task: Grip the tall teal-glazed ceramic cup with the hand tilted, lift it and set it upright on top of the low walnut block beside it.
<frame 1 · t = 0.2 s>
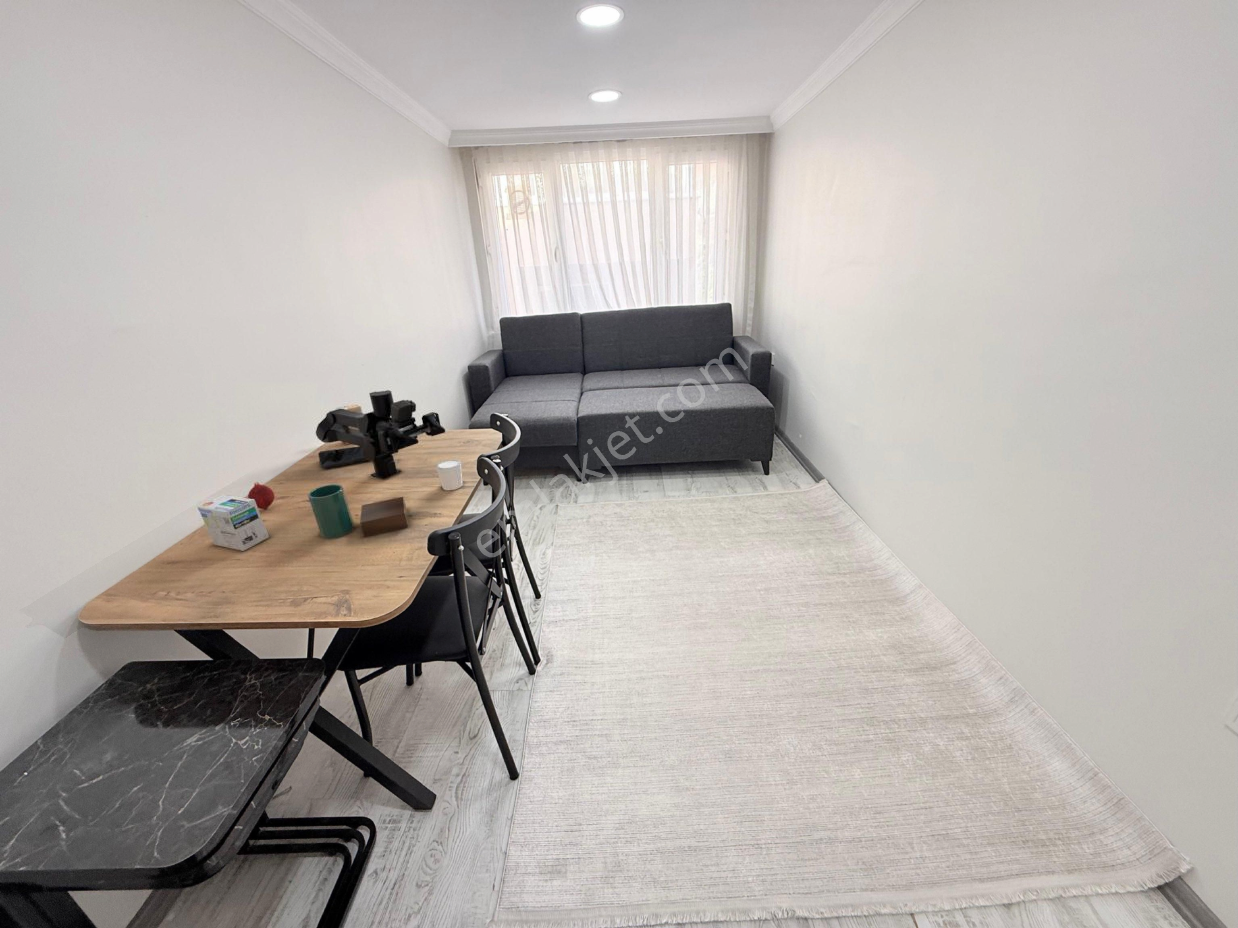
hand: (431, 435, 135), 17 cm above the table, tool horizontal, fingers open, 9 cm apart
cup: (337, 530, 123), on the table
light bulb box: (242, 542, 120), on the table
supplement box: (357, 441, 184), on the table
white cylinder: (452, 486, 144), on the table
dark slate chunk: (358, 457, 168), on the table
pomegranate: (266, 509, 136), on the table
block: (386, 522, 125), on the table
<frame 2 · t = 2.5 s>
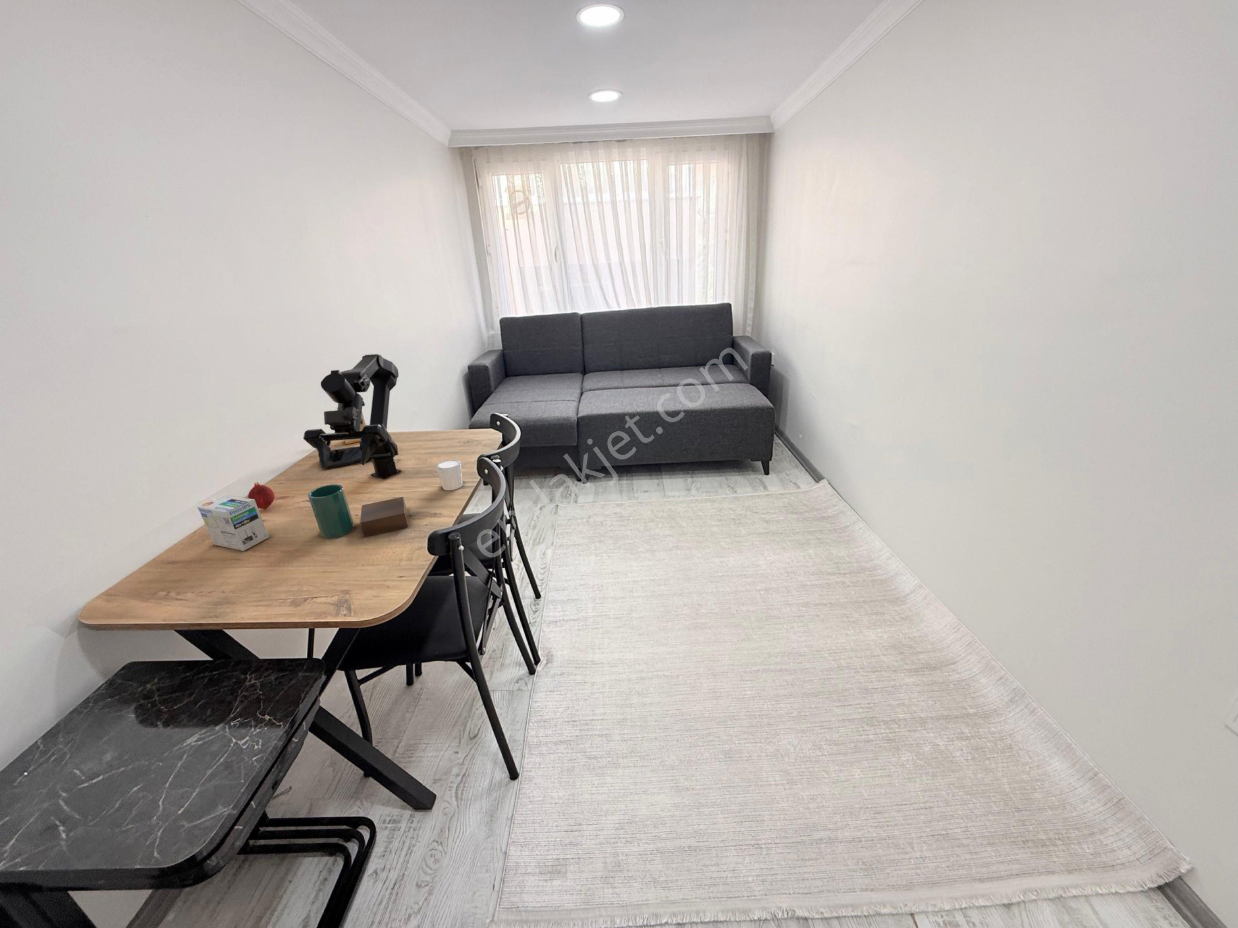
hand: (343, 465, 125), 14 cm above the table, tool tilted 50°, fingers open, 9 cm apart
nothing on the table moved.
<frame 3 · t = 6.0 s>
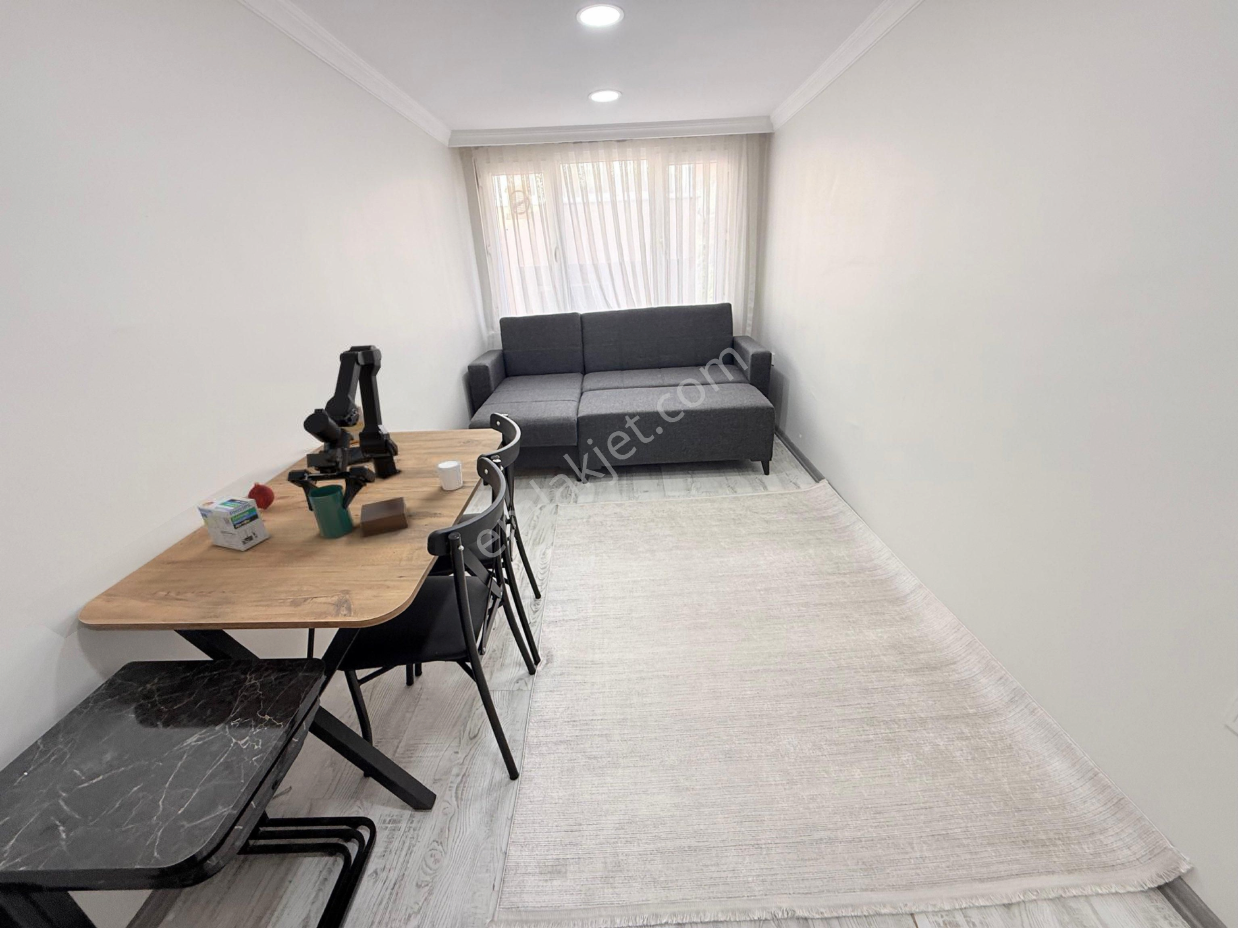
hand: (327, 509, 119), 7 cm above the table, tool tilted 45°, fingers closed on cup, 7 cm apart
cup: (337, 530, 123), on the table, touching gripper
everything else where it was.
when the fingers open (11 cm above the table, at t = 11.7 s): cup stays where it is, resting on block.
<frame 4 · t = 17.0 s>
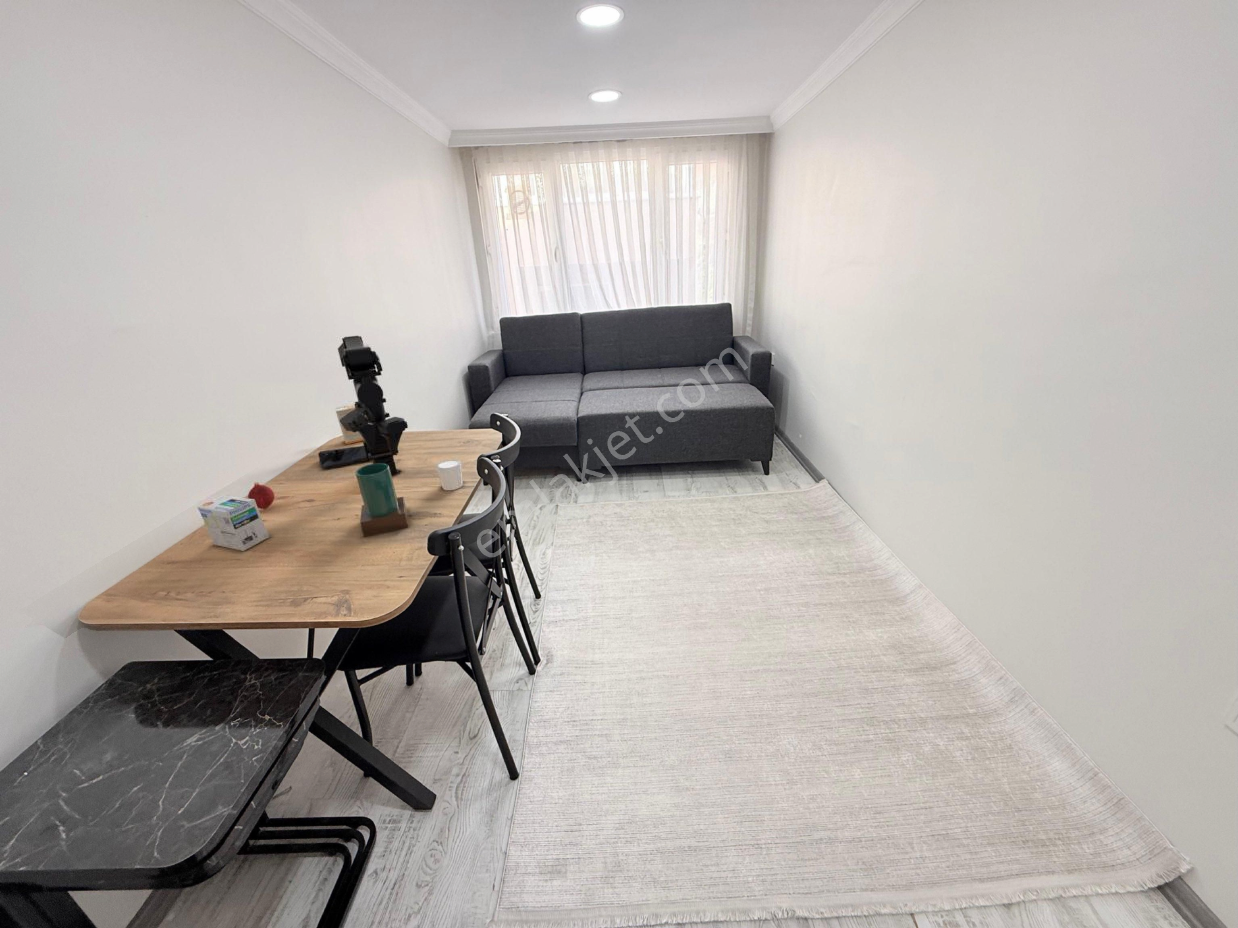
hand: (383, 451, 136), 13 cm above the table, tool pointing down, fingers open, 9 cm apart
cup: (382, 509, 124), point 4 cm above the table, touching block
block: (386, 522, 125), on the table, touching cup
everything else where it was.
at the end: cup 0.0 cm off-centre on the block, point 4.0 cm above the block's base; cup tilted 0°; the gripper is holding nothing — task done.
